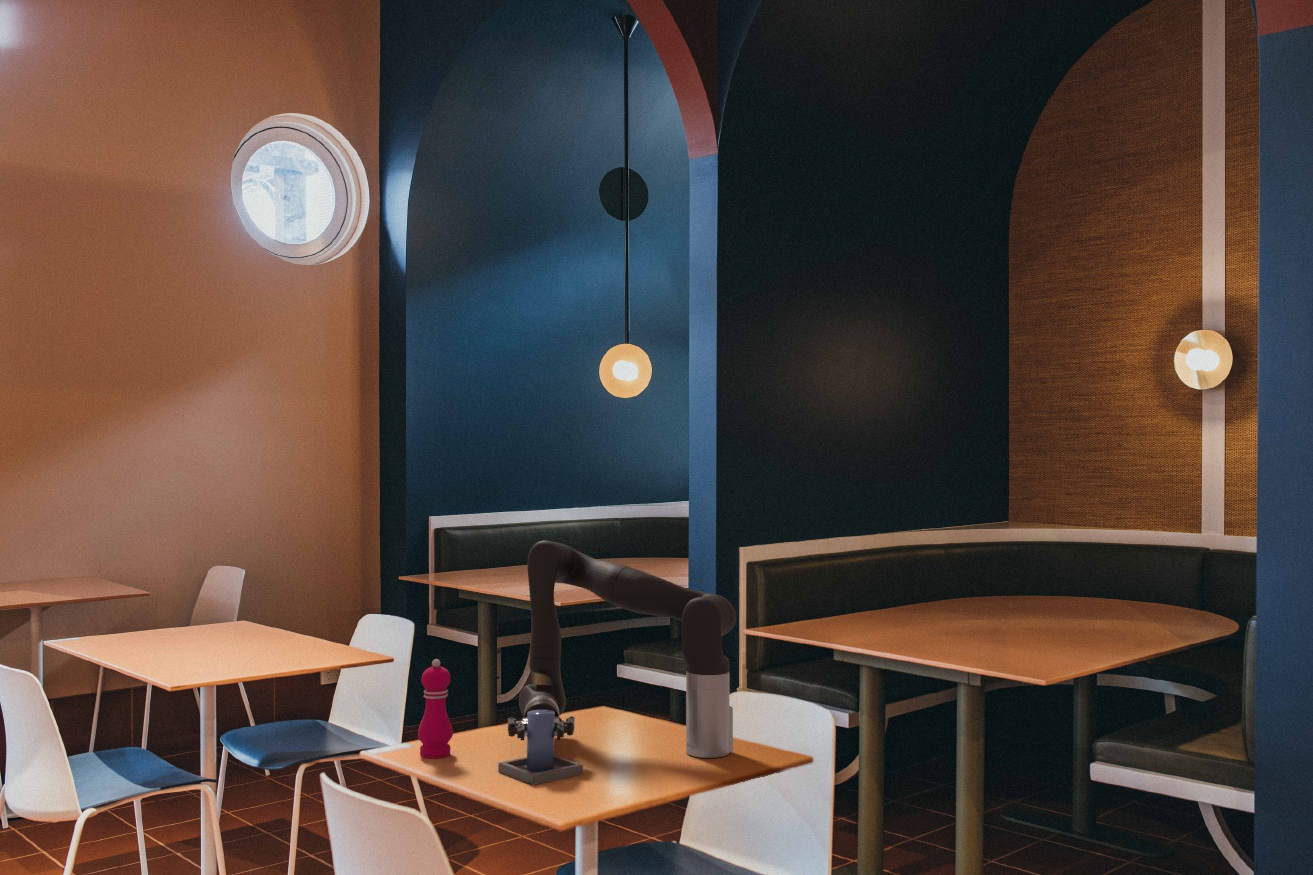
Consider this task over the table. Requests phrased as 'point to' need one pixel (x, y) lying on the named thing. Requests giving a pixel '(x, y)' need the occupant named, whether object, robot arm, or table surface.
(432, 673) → the pepper mill
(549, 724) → the blue-grey cylinder
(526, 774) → the tray
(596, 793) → the table surface
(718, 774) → the table surface
